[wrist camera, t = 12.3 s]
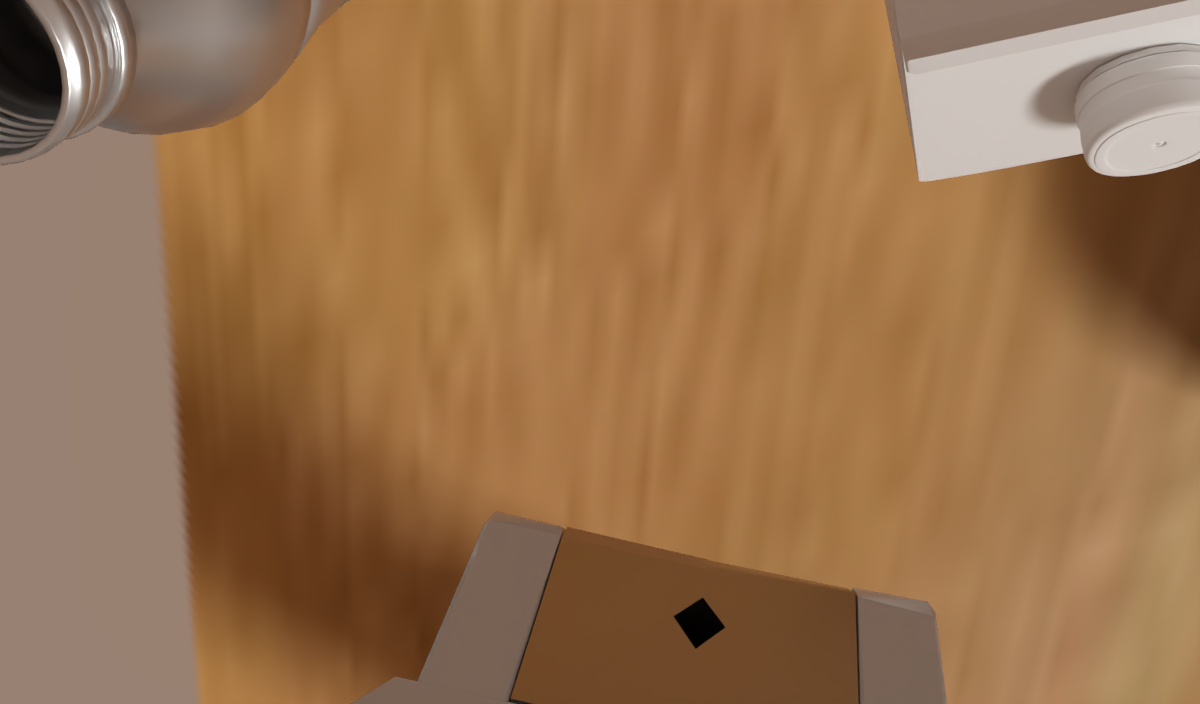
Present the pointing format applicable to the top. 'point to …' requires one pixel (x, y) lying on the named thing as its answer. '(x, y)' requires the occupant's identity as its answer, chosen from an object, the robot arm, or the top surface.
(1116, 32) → the milk carton
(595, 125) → the top surface
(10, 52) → the plastic bottle
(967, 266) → the top surface
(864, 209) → the top surface
